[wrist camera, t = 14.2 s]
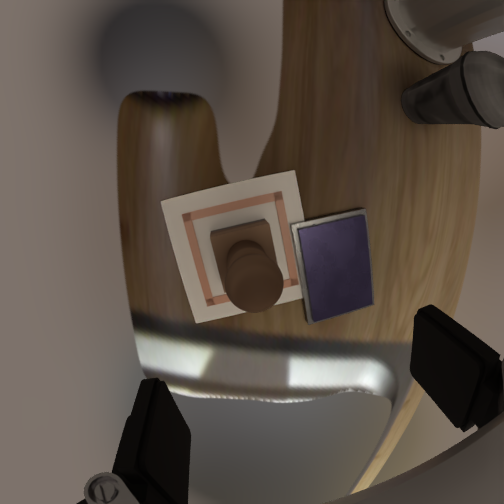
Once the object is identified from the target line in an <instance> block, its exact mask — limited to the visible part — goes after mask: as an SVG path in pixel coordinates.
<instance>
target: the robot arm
mask: <svg viewBox="0 0 504 504" xmlns="http://www.w3.org/2000/svg"><path fill="white" fill-rule="evenodd" d="M384 3H385V10H386V13H387V16H388V18H389V21H390V22H391V24H392V26H393V28H394V29H395V31H396V32H397V33H398V35H399V36H400V37H401V38H402V40H403V41H404V42H405V43H406V44H407V45H408V46H409V47H410V48H411V49H412V50H413V51H415V52H416V53H417V54H419V55H420V56H421V57H423V58H425V59H426V60H428V61H430V62H433V63H435V64H440V65H447V64H450V63H453V62H455V61H456V60H457V59H458V58H459V57H460V55H461V52H462V46H464V45H466V44H469V43H472V42H474V41H477V40H480V39H482V38H485V37H488V36H491V35H494V34H497V33H500V32H503V31H504V0H384ZM499 357H500V354H498V353H497V352H496V351H495V350H493V349H492V348H491V347H490V346H488V345H487V344H486V343H484V342H483V341H482V340H480V339H479V338H478V337H476V336H475V335H474V334H472V333H471V332H470V331H468V330H467V329H466V328H464V327H463V326H462V325H460V324H459V323H457V322H456V321H455V320H453V319H452V318H451V317H449V316H448V315H446V314H445V313H444V312H442V311H441V310H439V309H438V308H437V307H435V306H434V305H432V304H431V305H428V306H425V307H423V308H420V309H419V310H418V311H417V314H416V315H415V316H414V329H413V342H412V353H411V362H410V372H411V375H412V376H413V377H414V379H415V380H416V381H417V382H418V383H419V384H420V386H421V387H422V388H423V389H424V390H425V391H426V393H427V394H428V395H429V396H430V397H431V398H432V400H433V401H434V402H435V403H436V404H437V406H438V407H439V408H440V409H441V410H442V412H443V413H444V414H445V415H446V416H447V418H448V419H449V420H450V421H451V422H452V424H453V425H454V426H455V427H456V428H459V427H460V429H461V430H462V431H463V432H465V431H467V430H468V429H470V428H471V427H473V426H474V425H476V426H477V427H478V430H477V431H476V432H475V433H473V434H471V435H470V436H468V437H467V438H465V439H464V440H462V441H461V442H459V443H457V444H456V445H454V446H453V447H451V448H449V449H448V450H446V451H444V452H442V453H441V454H439V455H437V456H435V457H434V458H432V459H430V460H428V461H426V462H424V463H423V464H421V465H419V466H417V467H415V468H413V469H411V470H409V471H407V472H405V473H402V474H400V475H398V476H396V477H394V478H392V479H389V480H387V481H385V482H382V483H380V484H377V485H375V486H373V487H370V488H367V489H365V490H362V491H359V492H357V493H354V494H351V495H348V496H345V497H342V498H339V499H336V500H333V501H329V502H326V503H323V504H504V359H503V361H501V360H499ZM190 446H191V433H190V429H189V427H188V425H187V424H186V422H185V420H184V418H183V416H182V414H181V413H180V411H179V409H178V407H177V405H176V403H175V401H174V399H173V397H172V395H171V393H170V391H169V389H168V387H167V385H166V383H165V382H164V381H160V380H159V379H158V378H150V379H143V380H142V381H141V384H140V386H139V390H138V393H137V396H136V399H135V402H134V406H133V409H132V412H131V415H130V416H129V417H128V418H127V420H126V423H125V427H124V430H123V433H122V437H121V440H120V444H119V447H118V451H117V454H116V458H115V462H114V465H113V470H112V473H109V472H104V473H99V474H96V475H94V476H93V477H92V478H90V479H89V480H88V482H87V483H86V485H85V487H84V496H85V499H84V500H82V501H80V502H79V503H77V504H188V485H189V464H190Z"/></svg>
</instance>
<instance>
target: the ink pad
mask: <svg viewBox="0 0 504 504" xmlns="http://www.w3.org/2000/svg"><path fill="white" fill-rule="evenodd" d="M290 228H291V233H292V238H293V244H294V249H295V255H296V261H297V266H298V272H299V278H300V284H301V290H302V296H303V298H302V299H303V305H304V311H305V318H306V322H307V323H308V325H310V324H313V323H317V322H320V321H324V320H327V319H331V318H334V317H337V316H340V315H344V314H347V313H350V312H353V311H356V310H360V309H363V308H366V307H369V306H372V305H374V290H373V274H372V261H371V250H370V240H369V231H368V222H367V214H366V208H362V207H361V208H356V209H352V210H347V211H343V212H338V213H333V214H329V215H324V216H320V217H315V218H311V219H306V220H304V221H300V222H296V223H291V224H290Z"/></svg>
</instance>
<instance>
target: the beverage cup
mask: <svg viewBox="0 0 504 504" xmlns="http://www.w3.org/2000/svg"><path fill="white" fill-rule="evenodd" d="M401 102H402V107H403V110H404V112H405V114H406V115H407V116H408V118H409V119H410V120H412V121H413V122H415V123H417V124H475V125H480V126H486V127H489V128H493V129H498V128H500V127H504V58H503V57H501V56H499V55H497V54H495V53H492V52H488V51H471V52H466V53H465V54H464V55H463V56H461V57H460V58H459V59H457V60H456V61H455V62H454V63H453V64H451V65H449V66H447V67H445V68H443V69H441V70H439V71H437V72H436V73H434V74H432V75H430V76H428V77H426V78H424V79H422V80H420V81H419V82H417V83H415V84H413V85H412V86H411V87H409V88H407V89H406V90H405V91H404V92H403V94H402V99H401Z"/></svg>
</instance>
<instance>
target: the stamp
mask: <svg viewBox="0 0 504 504" xmlns="http://www.w3.org/2000/svg"><path fill="white" fill-rule="evenodd" d="M210 240H211V244H212V248H213V252H214V256H215V260H216V264H217V267H218V271H219V275H220V279H221V282H222V286H223V290H224V293H226V294H227V296H228V298H229V299H230V301H231V302H232V303H233V304H234V305H235V306H236V307H237V308H239V309H241V310H243V311H246V312H251V313H257V312H262V311H265V310H267V309H269V308H271V307H272V306H273V305H274V304H276V302H277V301H278V300H279V298H280V296H281V294H282V291H283V286H284V280H283V275H282V272H281V270H280V268H279V266H278V263H277V258H276V253H275V248H274V243H273V238H272V233H271V229H270V224H269V223H268V222H267V221H266V220H265V219H260V220H255V221H251V222H247V223H242V224H238V225H234V226H230V227H225V228H221V229H217V230H213V231H211V233H210Z"/></svg>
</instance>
